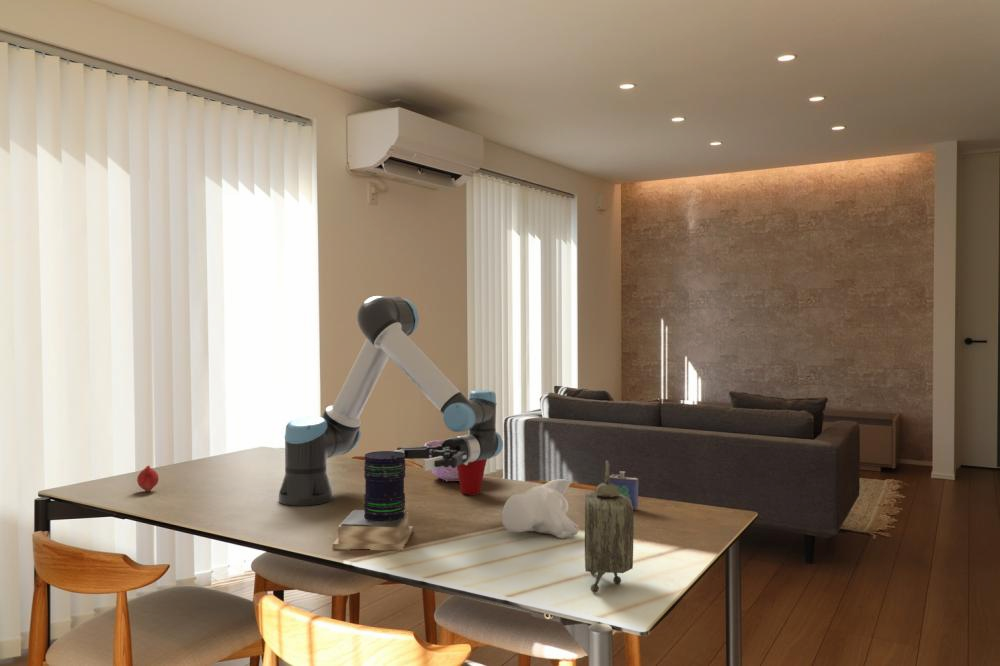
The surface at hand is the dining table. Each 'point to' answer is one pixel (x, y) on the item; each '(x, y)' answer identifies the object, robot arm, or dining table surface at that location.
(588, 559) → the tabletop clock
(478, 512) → the dining table surface
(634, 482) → the flask
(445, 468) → the bowl of food
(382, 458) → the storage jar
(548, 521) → the fox head
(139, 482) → the onion
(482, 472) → the plastic cup
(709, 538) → the dining table surface
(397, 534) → the plinth
